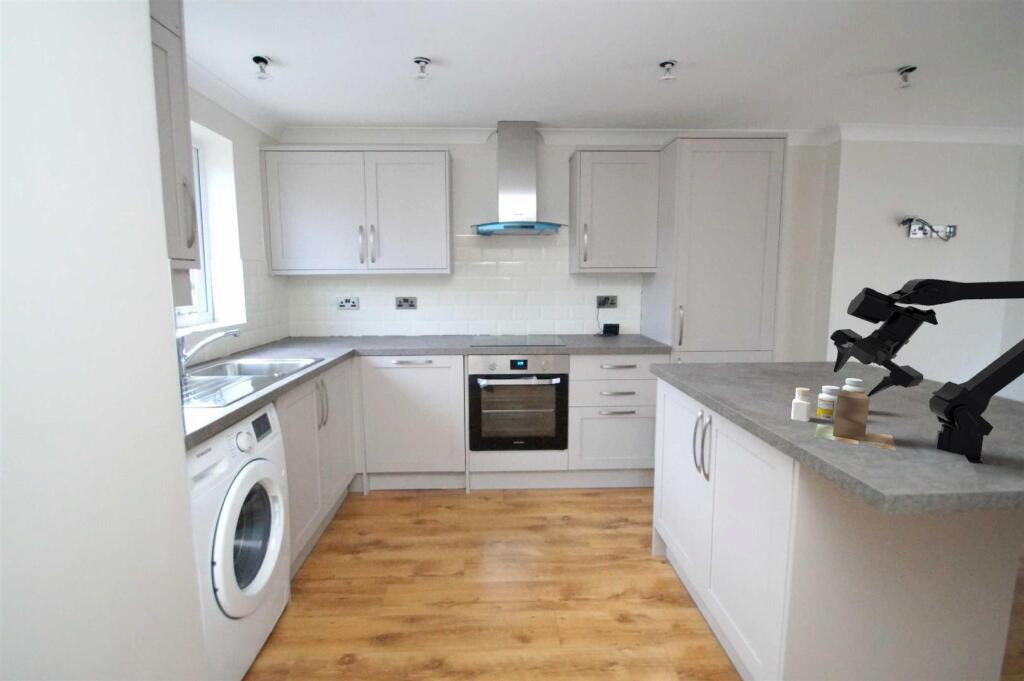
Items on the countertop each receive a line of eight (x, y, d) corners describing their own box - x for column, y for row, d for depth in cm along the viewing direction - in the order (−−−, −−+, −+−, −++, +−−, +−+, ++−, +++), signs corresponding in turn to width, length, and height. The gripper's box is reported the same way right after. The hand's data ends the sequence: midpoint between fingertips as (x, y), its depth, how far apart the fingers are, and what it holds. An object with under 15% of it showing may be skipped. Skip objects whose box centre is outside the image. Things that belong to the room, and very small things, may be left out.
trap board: (892, 440, 108) (892, 435, 108) (895, 455, 98) (895, 450, 98) (817, 428, 117) (817, 424, 117) (813, 441, 108) (814, 436, 107)
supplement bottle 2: (866, 412, 131) (870, 380, 130) (857, 414, 129) (860, 382, 128) (846, 407, 136) (849, 376, 135) (836, 410, 133) (839, 378, 132)
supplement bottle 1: (832, 418, 125) (835, 384, 124) (844, 424, 120) (848, 389, 119) (812, 418, 126) (815, 384, 125) (823, 424, 120) (826, 389, 119)
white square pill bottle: (793, 419, 125) (795, 386, 123) (810, 422, 122) (812, 388, 121) (790, 423, 122) (793, 389, 120) (807, 426, 119) (810, 391, 118)
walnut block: (863, 434, 109) (869, 394, 107) (864, 441, 104) (869, 399, 103) (833, 429, 112) (838, 390, 111) (832, 435, 108) (837, 395, 106)
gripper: (837, 309, 103) (798, 362, 112) (920, 359, 90) (869, 415, 98) (864, 308, 108) (825, 359, 117) (946, 356, 95) (896, 409, 103)
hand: (851, 383), depth 109 cm, fingers open, 9 cm apart
